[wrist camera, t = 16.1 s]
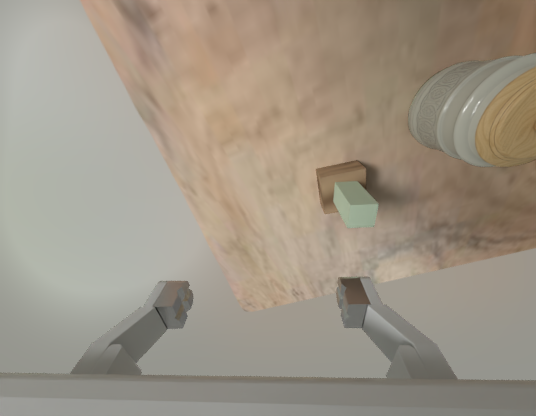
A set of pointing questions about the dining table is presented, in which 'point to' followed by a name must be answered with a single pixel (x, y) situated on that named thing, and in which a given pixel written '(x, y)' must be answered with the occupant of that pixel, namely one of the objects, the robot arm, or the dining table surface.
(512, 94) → the jar
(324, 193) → the walnut block
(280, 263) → the dining table surface
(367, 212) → the green brick
